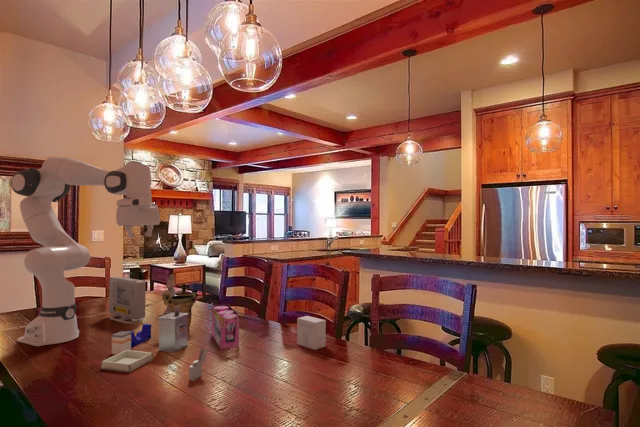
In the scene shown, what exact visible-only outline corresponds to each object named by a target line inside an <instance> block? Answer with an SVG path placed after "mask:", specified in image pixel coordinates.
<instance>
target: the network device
mask: <svg viewBox="0 0 640 427" xmlns="http://www.w3.org/2000/svg"><path fill="white" fill-rule="evenodd" d="M108 283H109V286H108V287H109V289H108V290H109V292H108V294H109V296H108V297H109V298H108V300H109V301H108V302H109V303H108V306H109V307H108V309H109V310H108V312H109V313H110V314H113V315H111V316H109V320H112V321H116V322H118V323H121V324H134V323H139V322H143V321H144V318H145V317H146V286H147V285H146V281H145V280H144V279H143V280H142V279H135V278H130V277H129V278H128V277H124V276H114V277H109V282H108ZM117 317H121V318H117ZM132 319H133V320H132ZM128 320H132V321H128Z"/></svg>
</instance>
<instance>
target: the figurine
mask: <svg viewBox="0 0 640 427" xmlns="http://www.w3.org/2000/svg"><path fill="white" fill-rule="evenodd" d="M175 286H176V283H175V274H173V273H172V274H170V275H169V276H168V280H167V282H166V284H165V288H166V289H164V290H163V292H162V293H161V296H162V297H163V294H164V293H169V295H170V297H172V296H176V289H175ZM161 300H162V301H163V299H161ZM164 305H165V304H164ZM165 306H166V308H165V310H164V311H163V314H164V315H166V314H169V313H171V312H172V310H171V308H170V306H169V305H165Z"/></svg>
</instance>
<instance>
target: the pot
mask: <svg viewBox="0 0 640 427" xmlns="http://www.w3.org/2000/svg"><path fill="white" fill-rule="evenodd" d="M197 295H198V294H197V292H196V291H194V292H193V293H190V294H177V295H176V294H175V296H172V297H170V295H169V293H164V294H163V296H162V299H163V300H162V299H161V300H162V301H163V304H164V305H169V306H170V308H171V310H172V312H175V306H180V313H189V315H188V331H189V330H190V326H191V323H192V308H193V306H194V304H195V303H196V301H197V298H198V297H197Z"/></svg>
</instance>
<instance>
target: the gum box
mask: <svg viewBox="0 0 640 427" xmlns="http://www.w3.org/2000/svg"><path fill="white" fill-rule="evenodd" d="M239 316H240V314H239V313H238V312H237V311H236V310H235V309H234V308H232V306H230V304H228V303H225V304H224V303H222V304H215V305H211V335H212V337H213V339H214V341H215V342H216V343H217V345H218V347H219V348H220V350H224V349H232V348H239V347H240V321H239V320H240V319H239Z"/></svg>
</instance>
